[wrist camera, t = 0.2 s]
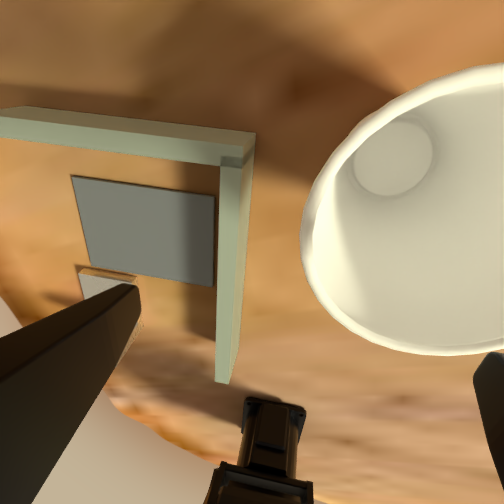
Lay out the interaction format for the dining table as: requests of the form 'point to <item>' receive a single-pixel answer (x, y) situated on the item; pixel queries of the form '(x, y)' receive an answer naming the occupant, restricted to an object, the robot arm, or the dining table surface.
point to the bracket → (102, 281)
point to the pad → (148, 230)
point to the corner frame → (173, 148)
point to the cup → (416, 220)
